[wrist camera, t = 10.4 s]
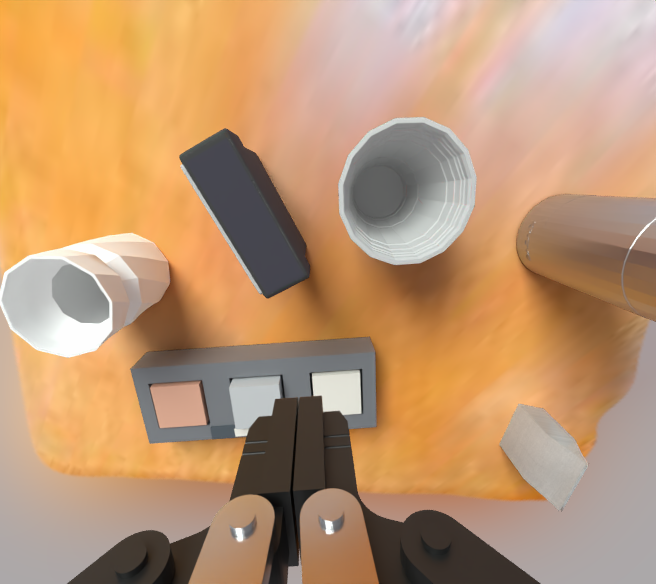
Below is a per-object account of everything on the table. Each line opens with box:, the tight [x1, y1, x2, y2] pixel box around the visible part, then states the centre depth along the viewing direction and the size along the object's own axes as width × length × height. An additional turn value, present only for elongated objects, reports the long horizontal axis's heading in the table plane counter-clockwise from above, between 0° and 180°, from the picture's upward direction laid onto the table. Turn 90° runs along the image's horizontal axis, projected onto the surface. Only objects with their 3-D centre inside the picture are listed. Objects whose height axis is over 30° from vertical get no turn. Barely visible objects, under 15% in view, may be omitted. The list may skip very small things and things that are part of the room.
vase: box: [0, 233, 171, 358], centre depth 33 cm, size 9×9×12 cm
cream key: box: [312, 369, 361, 415], centre depth 41 cm, size 5×5×3 cm
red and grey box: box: [180, 128, 310, 298], centre depth 30 cm, size 11×4×15 cm, turn 28°
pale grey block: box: [499, 404, 589, 511], centre depth 42 cm, size 4×7×10 cm, turn 166°
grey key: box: [229, 375, 284, 429], centre depth 40 cm, size 5×5×3 cm
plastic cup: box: [338, 117, 476, 265], centre depth 31 cm, size 11×11×12 cm
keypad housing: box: [131, 337, 376, 444], centre depth 41 cm, size 27×10×4 cm, turn 93°
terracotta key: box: [150, 380, 209, 428], centre depth 41 cm, size 5×5×3 cm
